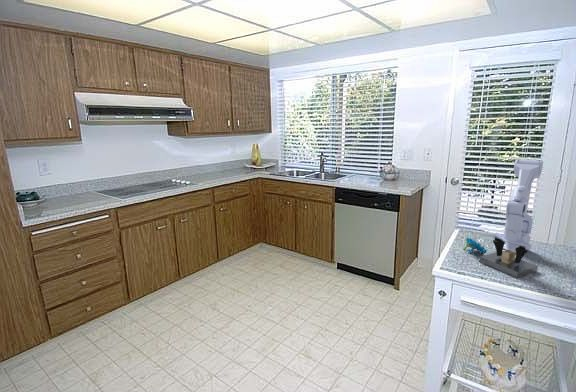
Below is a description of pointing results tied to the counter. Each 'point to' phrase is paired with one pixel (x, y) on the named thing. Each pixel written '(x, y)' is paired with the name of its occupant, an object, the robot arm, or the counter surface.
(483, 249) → the blue irregular piece
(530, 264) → the gray slab with hole
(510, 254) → the tan wooden beam
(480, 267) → the counter surface
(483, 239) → the counter surface
